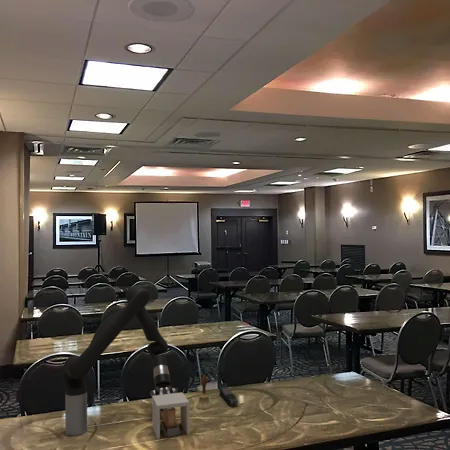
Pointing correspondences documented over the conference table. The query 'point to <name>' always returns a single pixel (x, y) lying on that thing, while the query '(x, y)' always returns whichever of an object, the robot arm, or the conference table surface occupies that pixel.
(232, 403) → the gun
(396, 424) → the conference table surface
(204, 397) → the hand bell
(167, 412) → the rounded end wooden stick
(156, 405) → the grey arch stand
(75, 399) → the robot arm
